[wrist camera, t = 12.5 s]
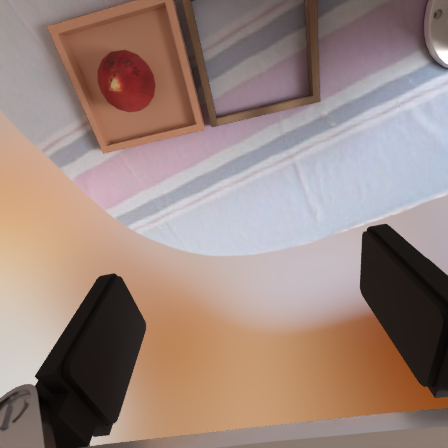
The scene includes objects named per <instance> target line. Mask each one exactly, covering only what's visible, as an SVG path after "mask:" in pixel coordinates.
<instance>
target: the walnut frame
mask: <svg viewBox="0 0 448 448" xmlns="http://www.w3.org/2000/svg"><path fill="white" fill-rule="evenodd" d="M191 1H194V0H182V2H183V6H184V10H185V15H186V19H187V23H188V27H189V32H190V36H191V40H192V45H193V49H194V53H195V58H196V62H197V66H198V71H199V75H200V79H201V84H202V88H203V92H204V96H205V101H206V105H207V109H208V114H209V118H210V122H211V127H215V126H219V125H223V124H227V123H232V122H236V121H240V120H244V119H249V118H253V117H257V116H261V115H266V114H270V113H274V112H278V111H282V110H287V109H291V108H295V107H299V106H304V105H308V104H312V103H316V102H320V77H319V50H318V23H317V0H305V18H306V36H307V54H308V73H309V91H310V95H309V96H305V97H301V98H297V99H293V100H288V101H284V102H280V103H276V104H272V105H268V106H263V107H259V108H255V109H251V110H247V111H242V112H238V113H234V114H230V115H226V116H222V117H216V113H215V108H214V104H213V99H212V94H211V90H210V85H209V81H208V76H207V72H206V67H205V63H204V58H203V53H202V49H201V44H200V40H199V35H198V31H197V26H196V22H195V17H194V12H193V8H192V3H191Z"/></svg>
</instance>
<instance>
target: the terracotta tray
mask: <svg viewBox="0 0 448 448" xmlns="http://www.w3.org/2000/svg"><path fill="white" fill-rule="evenodd" d="M47 28H48V30H49V33H50V35H51V37H52V39H53V42H54V44H55V46H56V48H57V51H58V53H59V55H60V57H61V60H62V62H63V64H64V66H65V69H66V71H67V73H68V75H69V78H70V80H71V82H72V84H73V87H74V89H75V91H76V93H77V96H78V98H79V100H80V102H81V104H82V107H83V109H84V111H85V113H86V116H87V118H88V120H89V122H90V125H91V127H92V129H93V131H94V134H95V136H96V138H97V140H98V143H99V145H100V147H101V149H102V152H103V154H104V153H108V152H112V151H116V150H120V149H125V148H129V147H133V146H137V145H142V144H146V143H150V142H154V141H159V140H163V139H167V138H171V137H176V136H180V135H184V134H188V133H193V132H197V131H201V130H204V129H205V123H204V119H203V115H202V111H201V107H200V102H199V98H198V94H197V90H196V86H195V82H194V78H193V74H192V69H191V65H190V61H189V57H188V53H187V49H186V45H185V41H184V36H183V32H182V28H181V24H180V20H179V16H178V12H177V8H176V3H175V0H134V1H131V2H128V3H124V4H121V5H118V6H114V7H111V8H107V9H104V10H101V11H97V12H94V13H91V14H87V15H84V16H81V17H77V18H74V19H70V20H67V21H64V22H60V23H57V24H54V25H50V26H47ZM120 50H127V51H130V52H132V53H135V54H137V55H139V56H140V57H141V58H142V59H143V60H144V61H145V62H146V63H147V64H148V65H149V67H150V69H151V71H152V73H153V75H154V80H155V85H156V86H155V93H154V97H153V99H152V101H151V102H150V104H149V105H148V106H147V107H145V108H144V109H142V110H140V111H136V112H126V111H122V110H119V109H117V108H115V107H114V106H112V105H111V104H109V103H108V102H107V100H106V99H105V97H104V96H103V94H102V93H101V90H100V88H99V85H98V82H97V71H98V68H99V66H100V63H101V61H102V59H103V58H104V57H105V56H106V55H108V54H109V53H110V52H112V51H120Z"/></svg>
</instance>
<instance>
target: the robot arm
mask: <svg viewBox="0 0 448 448" xmlns="http://www.w3.org/2000/svg"><path fill="white" fill-rule="evenodd" d="M424 36H425V41H426V46H427V48H428V50H429V52H430V54H431V56H432V57H433V58H434V59H435V61H436V62H438V63H439V64H441V65H442V66H443V67H446V68H448V0H429V1H428V4H427V7H426V12H425V19H424ZM360 290H361V293H362V295H363V297H364V299H365V300H366V302H367V303H368V305H369V307H370V308H371V310H372V311H373V313H374V314H375V316H376V317H377V319H378V320H379V322H380V323H381V325H382V326H383V328H384V329H385V331H386V332H387V334H388V336H389V337H390V339H391V340H392V342H393V343H394V345H395V347H396V348H397V349H398V351H399V353H400V354H401V356H402V357H403V359H404V360H405V362H406V363H407V365H408V366H409V368H410V370H411V371H412V373H413V374H414V376H415V377H416V379H417V380H418V382H419V383H420V384H421V385H422V386H424V387H425V386H427V387H428V388H429V390H430V391H431V393H432V394H433V396H434V397H435V398H439V397H448V275H446V274H445V273H444V272H443V271H442V270H441V269H439V268H438V267H437V266H436V265H435V264H434V263H432V262H431V261H430V260H429V259H427V258H426V257H425V256H423V255H422V254H421V253H420V252H419V251H418V250H416V249H415V248H414V247H413V246H412V245H411V244H409V243H408V242H407V241H406V240H405V239H404V238H403V237H402V236H400V235H399V234H398V233H397V232H396V231H395V230H393V229H392V228H391V227H390V226H389V225H387V224H382V225H376V226H371V227H368V228H367V231H366V232H363V234H362V253H361V275H360ZM145 331H146V323H145V320H144V318H143V316H142V314H141V313H140V311H139V309H138V307H137V305H136V303H135V302H134V300H133V298H132V296H131V294H130V292H129V290H128V288H127V286H126V285H125V283H124V281H123V279H122V278H121V277H120V276H117V275H116V274H108V275H103V276H100V277H98V279H97V280H96V282H95V283H94V285H93V287H92V288H91V289H90V291H89V293H88V294H87V296H86V297H85V299H84V300H83V302H82V303H81V305H80V307H79V308H78V310H77V311H76V313H75V314H74V316H73V318H72V319H71V321H70V322H69V324H68V325H67V327H66V328H65V330H64V332H63V333H62V335H61V336H60V338H59V339H58V341H57V343H56V344H55V346H54V347H53V349H52V350H51V352H50V354H49V355H48V357H47V358H46V360H45V361H44V363H43V364H42V366H41V367H40V369H39V371H38V372H37V374H36V375H35V377H36V378H37V379H38V382H37V384H36V385H35V386H33V385H31V384H26V385H21V386H19V387H16V388H15V389H13V390H11V391H9V392H8V393H6V394H5V395H4V396H3V397H1V398H0V448H448V408H443V409H431V410H420V411H408V412H396V413H386V414H376V415H366V416H357V417H347V418H338V419H328V420H318V421H309V422H299V423H290V424H281V425H272V426H262V427H253V428H245V429H236V430H226V431H217V432H209V433H199V434H190V435H182V436H174V437H164V438H155V439H147V440H138V441H130V442H121V443H113V444H104V445H97V446H90V444H89V443H90V441H91V438H92V435H93V436H94V437H97V436H106V435H109V434H110V431H111V428H112V425H113V423H115V422H116V421H117V419H118V417H119V413H120V411H121V407H122V404H123V401H124V398H125V395H126V391H127V388H128V385H129V382H130V379H131V376H132V372H133V369H134V366H135V363H136V360H137V356H138V353H139V350H140V347H141V344H142V341H143V337H144V334H145Z"/></svg>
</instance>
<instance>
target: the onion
mask: <svg viewBox="0 0 448 448" xmlns="http://www.w3.org/2000/svg"><path fill="white" fill-rule="evenodd" d="M97 82H98V85H99V88H100V90H101V93H102V94H103V96H104V97H105V99H106V100H107V102H108V103H109V104H111V105H112V106H114V107H115V108H117V109H119V110H122V111H126V112H136V111H140V110H142V109H144V108H145V107H147V106H148V105H149V104H150V102H151V101H152V99H153V97H154V93H155V86H156V85H155V80H154V75H153V73H152V71H151V69H150V67H149V65H148V64H147V63H146V62H145V61H144V60H143V59H142V58H141V57H140V56H139V55H137V54H135V53H132V52H130V51H127V50H120V51H112V52H110V53H109V54H108V55H106V56H105V57H104V58H103V59H102V61H101V63H100V66H99V68H98V71H97Z"/></svg>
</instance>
